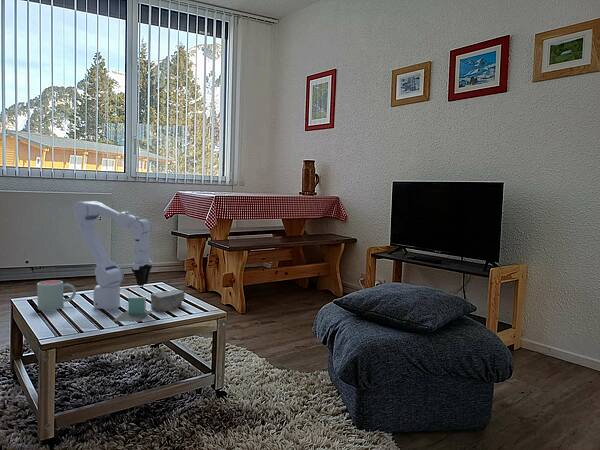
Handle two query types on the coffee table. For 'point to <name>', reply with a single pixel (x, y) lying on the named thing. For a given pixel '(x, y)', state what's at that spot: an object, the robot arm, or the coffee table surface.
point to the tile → (137, 305)
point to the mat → (132, 316)
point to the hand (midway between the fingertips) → (142, 284)
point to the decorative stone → (166, 300)
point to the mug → (52, 294)
